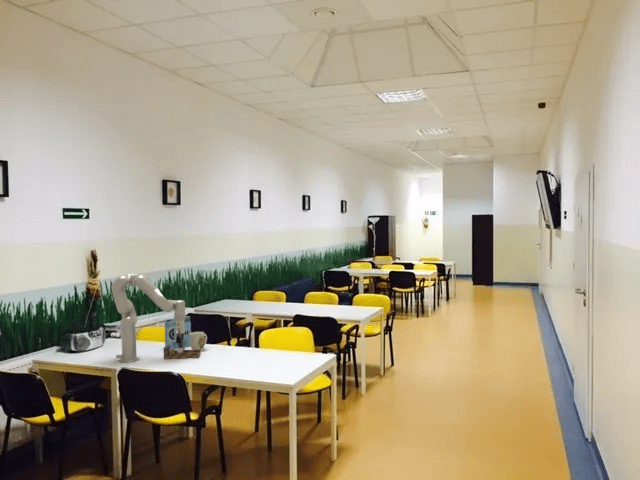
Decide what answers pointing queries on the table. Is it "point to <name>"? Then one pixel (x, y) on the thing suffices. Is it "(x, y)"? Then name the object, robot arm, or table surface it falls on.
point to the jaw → (181, 346)
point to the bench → (174, 355)
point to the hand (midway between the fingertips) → (179, 341)
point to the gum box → (171, 332)
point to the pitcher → (197, 340)
